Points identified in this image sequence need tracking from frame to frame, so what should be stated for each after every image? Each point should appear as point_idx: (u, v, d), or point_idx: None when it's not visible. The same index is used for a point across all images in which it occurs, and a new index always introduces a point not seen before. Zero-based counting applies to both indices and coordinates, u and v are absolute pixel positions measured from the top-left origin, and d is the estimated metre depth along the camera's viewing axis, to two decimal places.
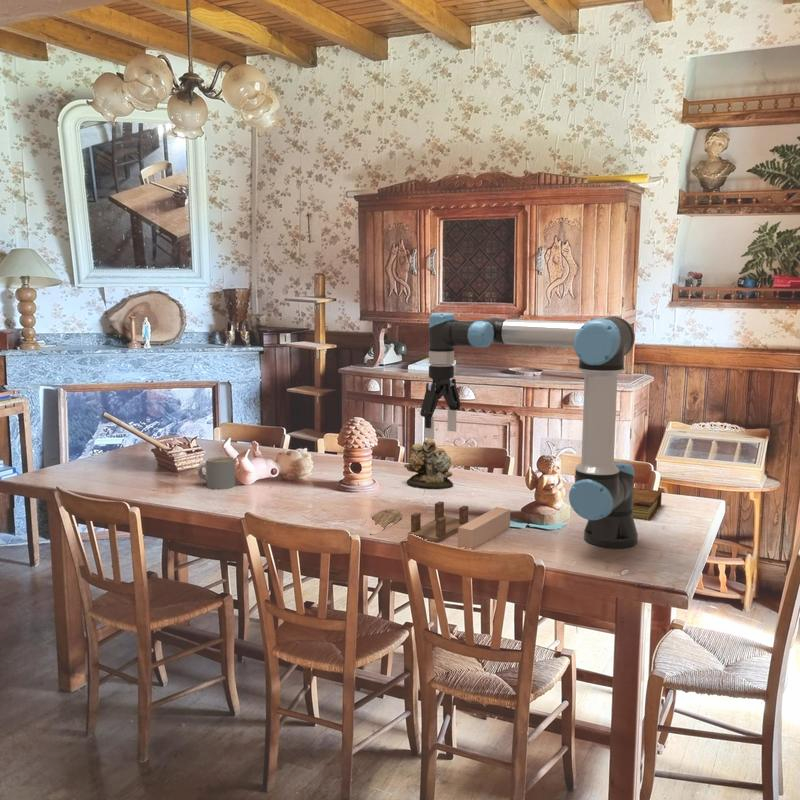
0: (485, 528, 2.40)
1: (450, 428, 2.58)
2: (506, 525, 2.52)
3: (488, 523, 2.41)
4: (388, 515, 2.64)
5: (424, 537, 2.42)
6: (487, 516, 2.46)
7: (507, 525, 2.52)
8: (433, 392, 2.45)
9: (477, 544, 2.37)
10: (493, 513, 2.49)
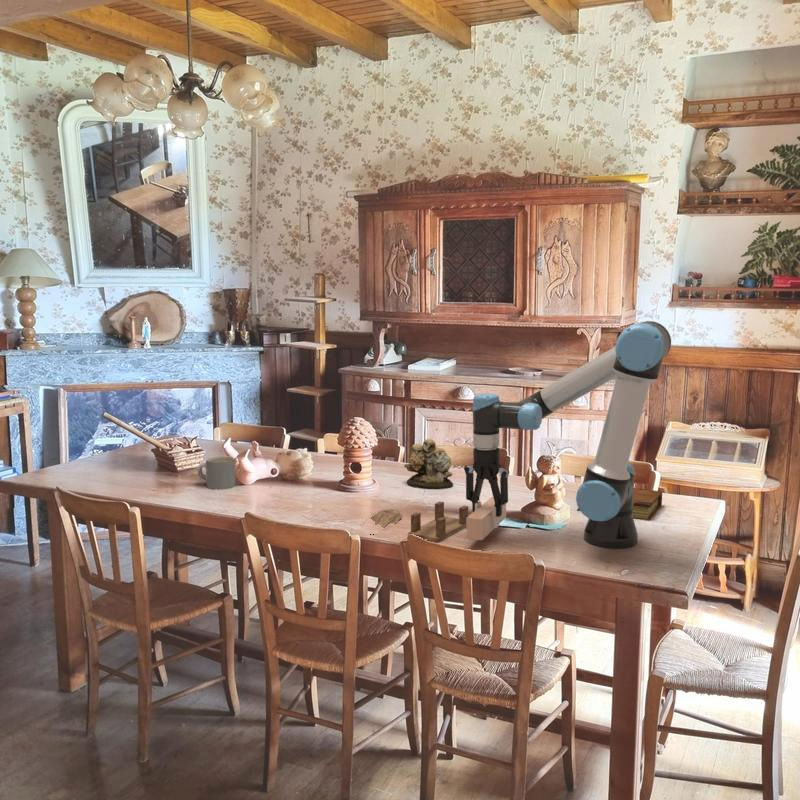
0: (490, 517, 2.39)
1: None
2: (503, 513, 2.52)
3: (492, 512, 2.41)
4: (388, 515, 2.64)
5: (424, 537, 2.42)
6: (488, 505, 2.46)
7: (504, 514, 2.53)
8: (467, 475, 2.44)
9: (485, 533, 2.35)
10: (492, 502, 2.48)
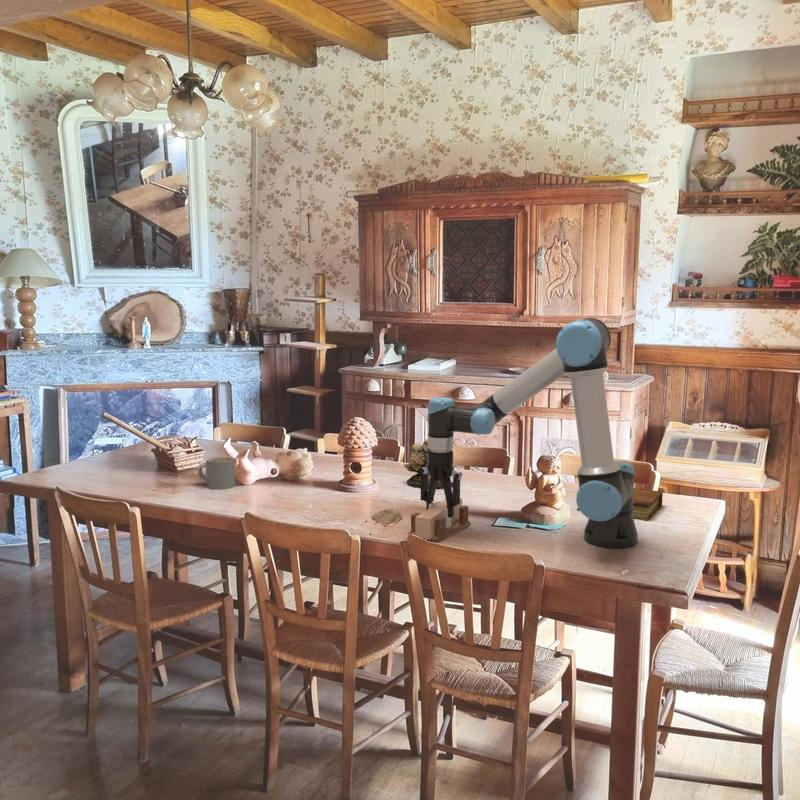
0: None
1: None
2: (458, 513, 2.58)
3: (443, 512, 2.47)
4: (388, 515, 2.64)
5: None
6: (441, 505, 2.52)
7: None
8: (422, 477, 2.51)
9: (434, 533, 2.42)
10: (446, 502, 2.55)
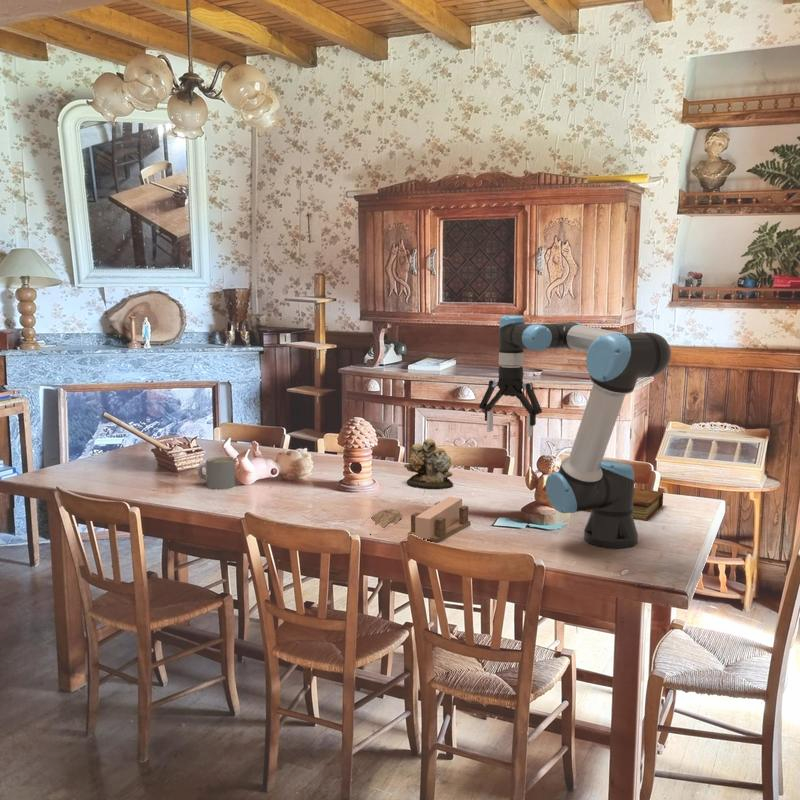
0: None
1: None
2: (458, 513, 2.58)
3: (443, 512, 2.47)
4: (388, 515, 2.64)
5: None
6: (441, 505, 2.52)
7: None
8: (489, 388, 2.61)
9: (434, 533, 2.42)
10: (446, 502, 2.55)
